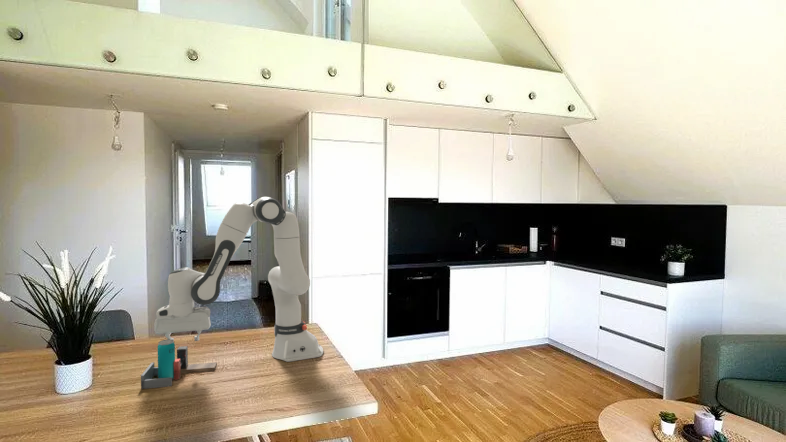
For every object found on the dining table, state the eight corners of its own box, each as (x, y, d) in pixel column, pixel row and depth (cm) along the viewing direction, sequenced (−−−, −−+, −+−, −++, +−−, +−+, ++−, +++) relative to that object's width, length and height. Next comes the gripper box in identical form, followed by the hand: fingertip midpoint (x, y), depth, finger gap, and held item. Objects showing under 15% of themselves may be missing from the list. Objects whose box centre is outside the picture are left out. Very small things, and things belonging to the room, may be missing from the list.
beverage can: (178, 377, 159) (177, 339, 159) (169, 383, 154) (168, 344, 153) (164, 376, 160) (164, 338, 159) (154, 382, 154) (153, 343, 153)
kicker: (187, 367, 167) (187, 346, 167) (180, 379, 157) (180, 356, 156) (179, 368, 167) (178, 346, 166) (171, 380, 156) (171, 357, 155)
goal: (179, 372, 163) (179, 360, 163) (171, 386, 152) (171, 373, 152) (151, 374, 161) (151, 362, 161) (141, 389, 149) (140, 375, 149)
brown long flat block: (216, 365, 171) (216, 362, 171) (214, 370, 166) (214, 367, 166) (174, 368, 167) (174, 365, 167) (171, 373, 162) (171, 370, 162)
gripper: (211, 303, 170) (213, 336, 171) (156, 308, 165) (159, 341, 166) (208, 308, 164) (210, 341, 165) (151, 312, 159) (154, 347, 160)
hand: (184, 341), depth 165 cm, fingers open, 8 cm apart
